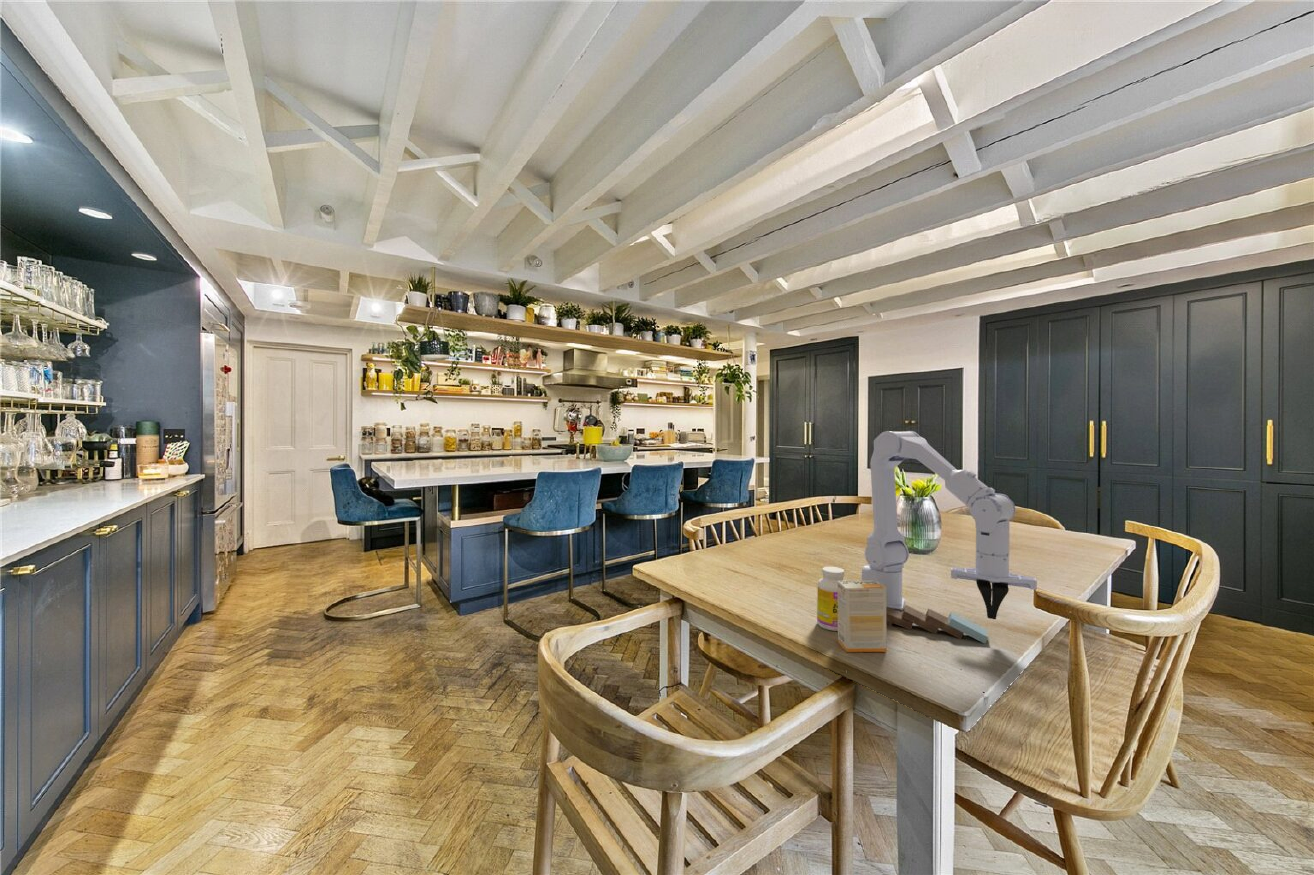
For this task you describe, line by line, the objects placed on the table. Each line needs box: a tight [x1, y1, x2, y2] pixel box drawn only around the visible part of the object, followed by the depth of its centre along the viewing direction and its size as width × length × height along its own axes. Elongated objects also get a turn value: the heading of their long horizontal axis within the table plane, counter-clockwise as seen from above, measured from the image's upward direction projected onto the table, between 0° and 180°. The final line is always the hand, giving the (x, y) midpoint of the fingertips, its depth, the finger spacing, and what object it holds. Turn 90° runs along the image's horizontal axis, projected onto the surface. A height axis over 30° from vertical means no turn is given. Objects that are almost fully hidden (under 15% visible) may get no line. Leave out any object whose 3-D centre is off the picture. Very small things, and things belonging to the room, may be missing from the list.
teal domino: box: [947, 611, 989, 645], centre depth 101 cm, size 2×4×7 cm
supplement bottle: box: [816, 566, 845, 632], centre depth 106 cm, size 7×7×13 cm
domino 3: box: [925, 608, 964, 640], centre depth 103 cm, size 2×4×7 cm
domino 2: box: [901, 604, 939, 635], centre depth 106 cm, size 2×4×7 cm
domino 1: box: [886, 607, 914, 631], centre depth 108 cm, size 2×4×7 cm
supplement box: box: [837, 580, 887, 653], centre depth 96 cm, size 8×5×13 cm, turn 90°
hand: (991, 617), depth 99 cm, fingers closed
